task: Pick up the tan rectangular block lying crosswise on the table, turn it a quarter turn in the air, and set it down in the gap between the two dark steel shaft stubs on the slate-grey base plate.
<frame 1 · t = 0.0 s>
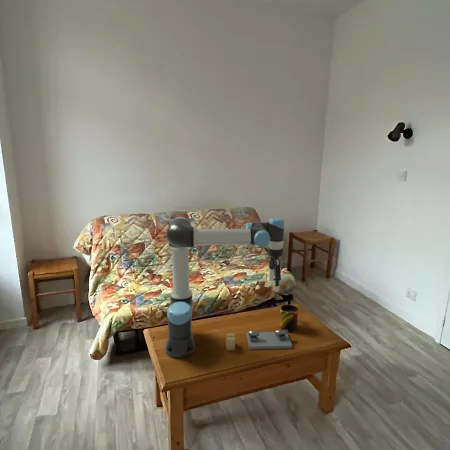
hand: (273, 285, 183), 28 cm above the table, fingers open, 13 cm apart
tan rectangular block: (230, 346, 177), on the table
shaft right: (280, 340, 183), resting on base plate
shaft left: (253, 341, 181), resting on base plate
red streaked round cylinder: (286, 326, 197), on the table
base plate: (268, 341, 182), on the table
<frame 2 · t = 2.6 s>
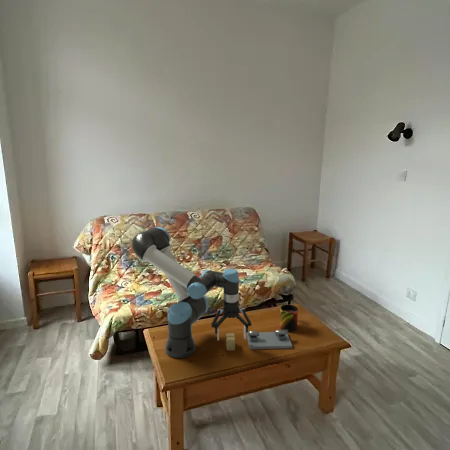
hand: (231, 338, 175), 5 cm above the table, fingers open, 13 cm apart
nothing on the table moved.
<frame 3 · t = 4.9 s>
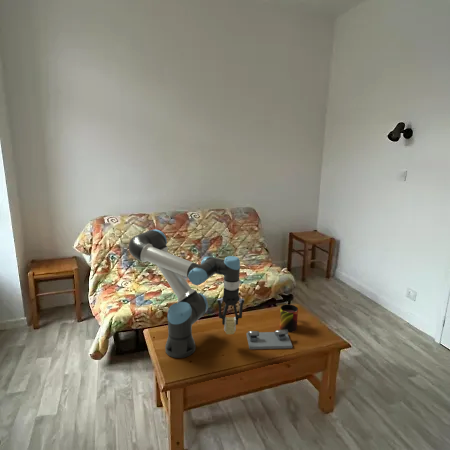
hand: (229, 329, 174), 10 cm above the table, fingers closed on tan rectangular block, 4 cm apart
tan rectangular block: (229, 330, 174), point 9 cm above the table, touching gripper
everything else where it was.
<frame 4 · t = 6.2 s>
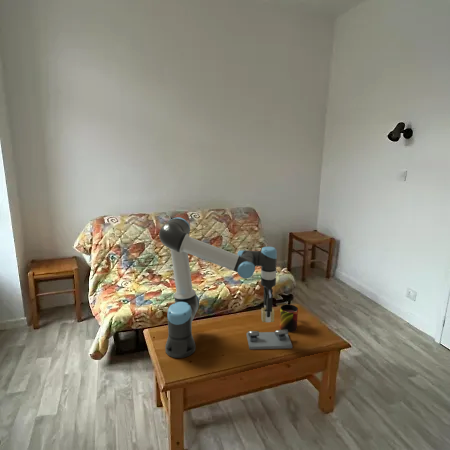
hand: (267, 319, 178), 13 cm above the table, fingers closed on tan rectangular block, 4 cm apart
tan rectangular block: (267, 320, 178), point 13 cm above the table, touching gripper
everything else where it was.
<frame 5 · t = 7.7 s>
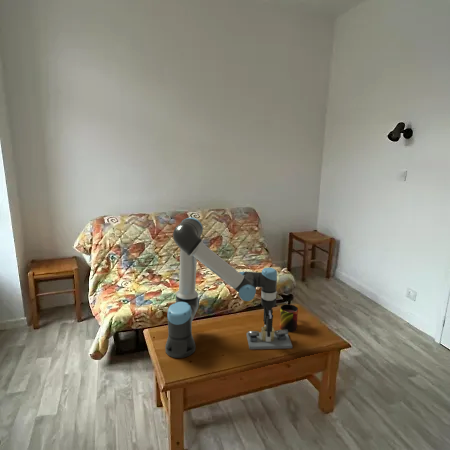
hand: (267, 338, 181), 2 cm above the table, fingers closed on base plate, tan rectangular block, 4 cm apart
tan rectangular block: (267, 339, 181), point 1 cm above the table, touching base plate, gripper
everything else where it was.
when the fingers open (2 cm above the table, at t = 8.4 s): tan rectangular block stays where it is, resting on base plate.
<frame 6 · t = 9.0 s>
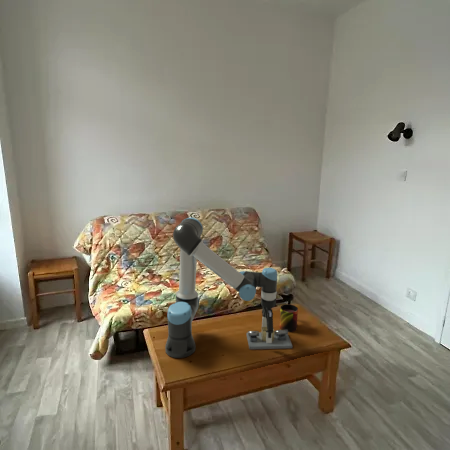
hand: (266, 335, 181), 4 cm above the table, fingers open, 13 cm apart
tan rectangular block: (267, 339, 181), point 1 cm above the table, touching base plate
everything else where it was.
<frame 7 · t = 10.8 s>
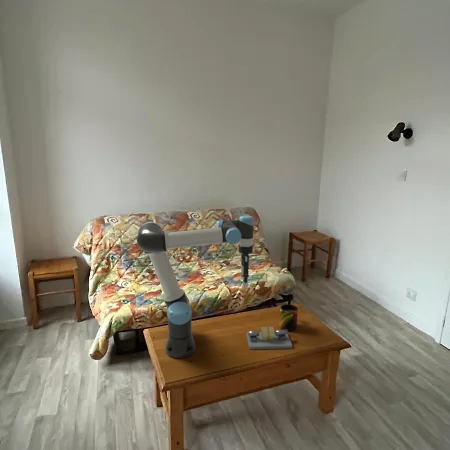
hand: (244, 282, 186), 28 cm above the table, fingers open, 13 cm apart
nothing on the table moved.
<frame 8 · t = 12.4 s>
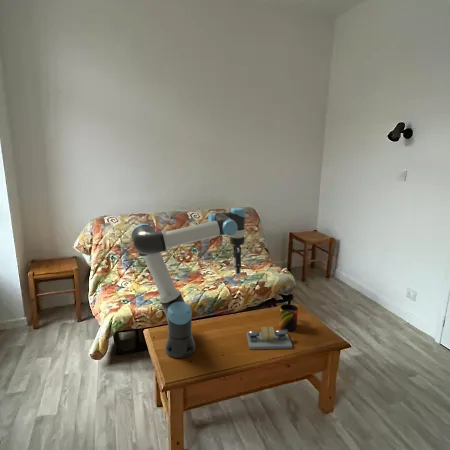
hand: (236, 273, 189), 32 cm above the table, fingers open, 13 cm apart
nothing on the table moved.
at the end: tan rectangular block 0.3 cm from the target spot, point 1.5 cm above the table; tan rectangular block tilted 0°; the gripper is holding nothing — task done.
